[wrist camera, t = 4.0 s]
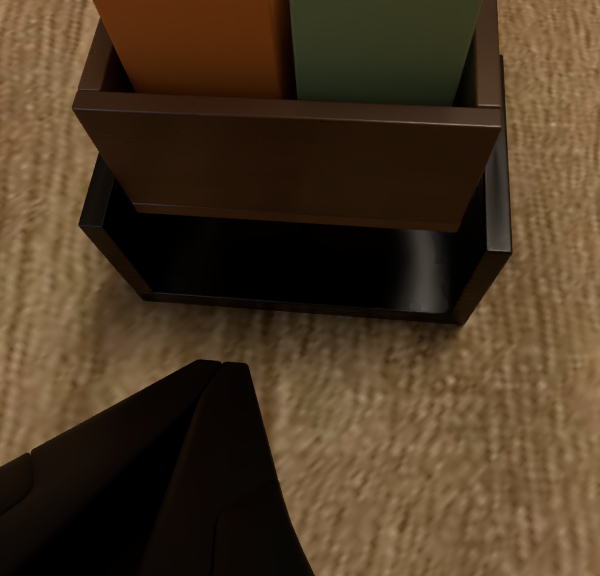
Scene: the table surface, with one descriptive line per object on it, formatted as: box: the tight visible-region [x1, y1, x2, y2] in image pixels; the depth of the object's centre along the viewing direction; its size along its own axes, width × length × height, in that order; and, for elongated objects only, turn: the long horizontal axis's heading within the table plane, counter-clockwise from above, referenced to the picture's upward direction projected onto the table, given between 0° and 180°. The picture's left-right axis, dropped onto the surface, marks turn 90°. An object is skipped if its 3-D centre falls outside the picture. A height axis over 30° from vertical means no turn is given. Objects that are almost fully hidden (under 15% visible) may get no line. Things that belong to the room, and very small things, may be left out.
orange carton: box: [93, 0, 298, 100], centre depth 15 cm, size 4×4×9 cm
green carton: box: [289, 0, 483, 107], centre depth 14 cm, size 4×4×9 cm
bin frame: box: [78, 55, 513, 325], centre depth 21 cm, size 8×13×6 cm, turn 84°
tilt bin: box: [72, 0, 502, 232], centre depth 17 cm, size 7×10×5 cm
